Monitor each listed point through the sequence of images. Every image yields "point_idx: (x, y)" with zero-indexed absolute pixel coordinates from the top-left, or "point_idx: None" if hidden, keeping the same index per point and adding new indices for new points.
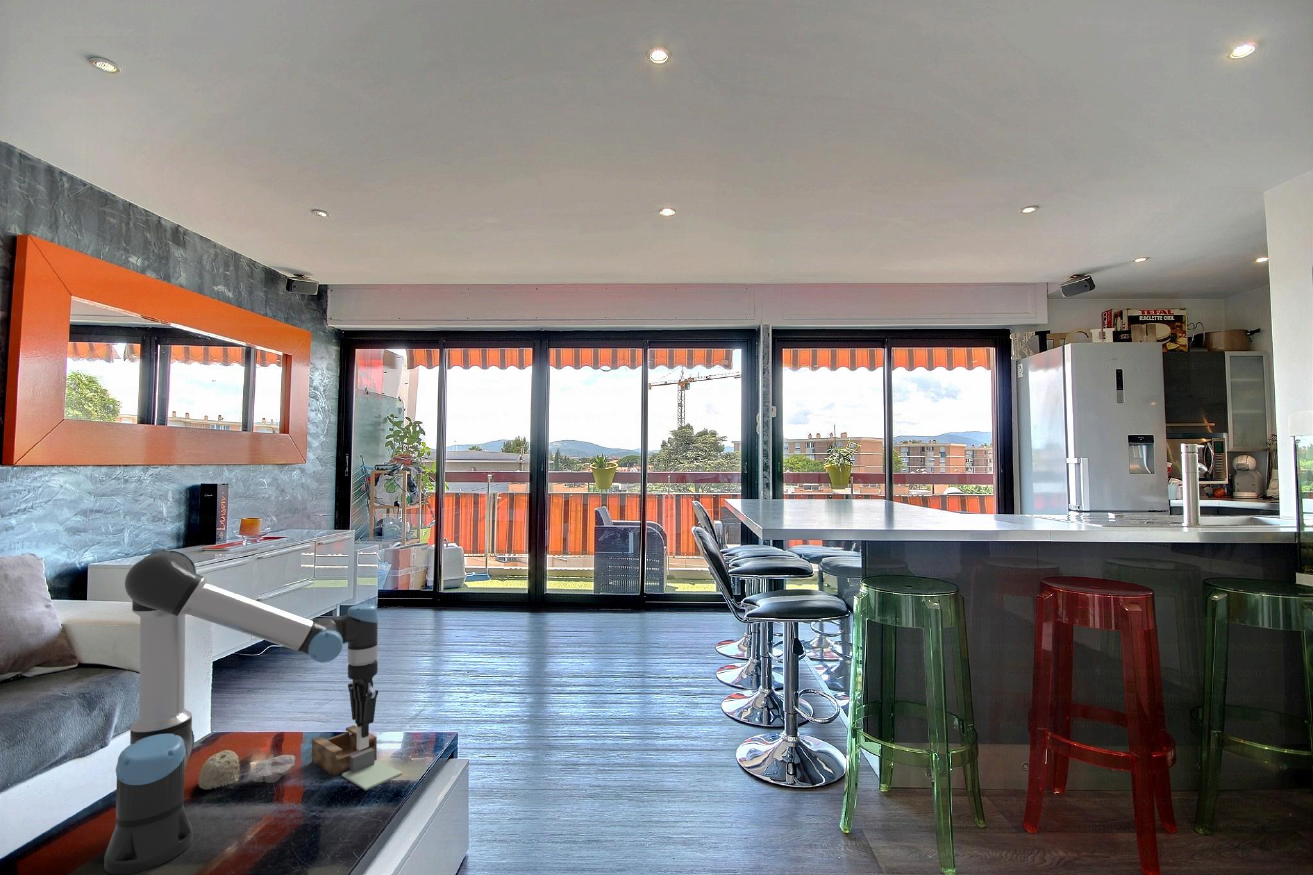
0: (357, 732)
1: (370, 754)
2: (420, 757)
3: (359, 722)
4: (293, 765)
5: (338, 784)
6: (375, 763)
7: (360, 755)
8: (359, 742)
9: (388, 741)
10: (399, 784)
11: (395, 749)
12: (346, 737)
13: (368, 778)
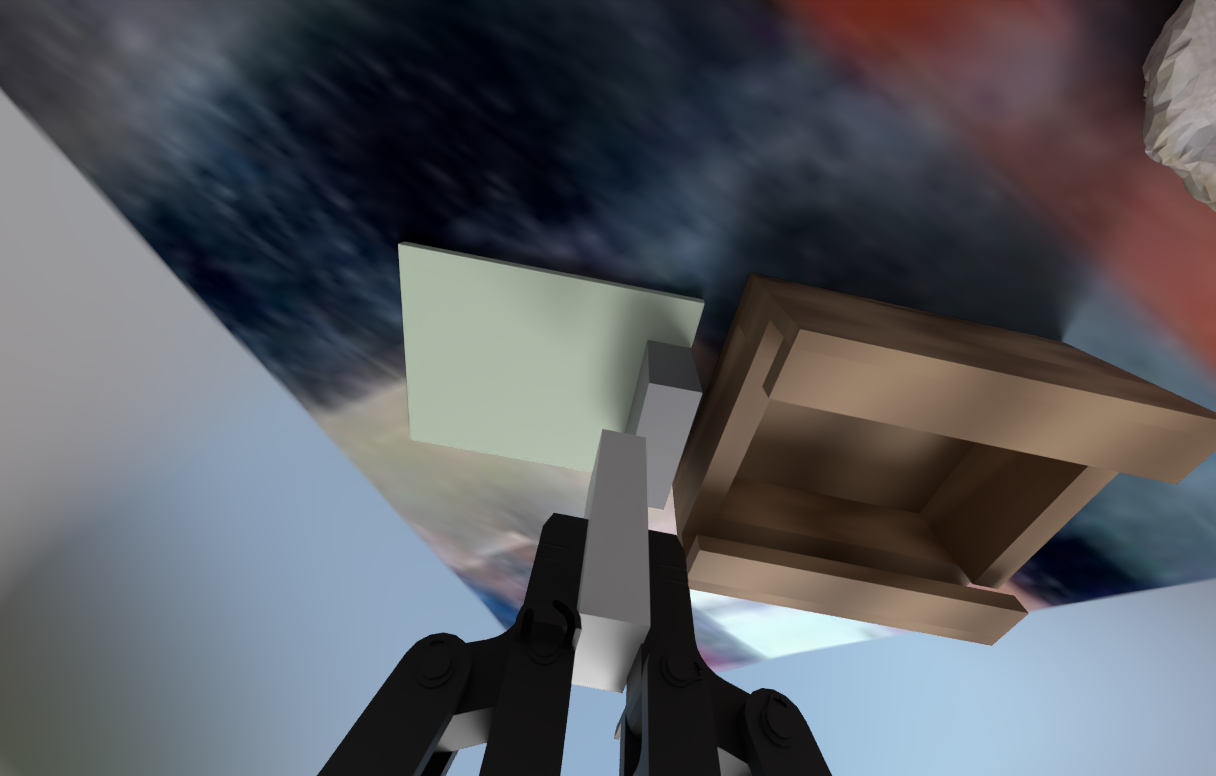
0: (627, 544)
1: None
2: (497, 553)
3: (639, 667)
4: (1155, 132)
5: (625, 214)
6: None
7: (637, 425)
8: (598, 472)
9: None
10: (321, 362)
11: None
12: (967, 553)
13: (501, 331)
